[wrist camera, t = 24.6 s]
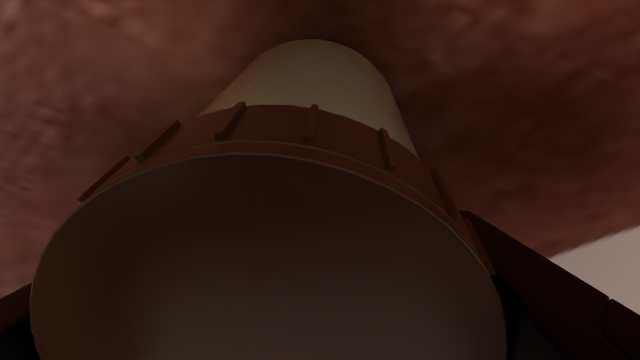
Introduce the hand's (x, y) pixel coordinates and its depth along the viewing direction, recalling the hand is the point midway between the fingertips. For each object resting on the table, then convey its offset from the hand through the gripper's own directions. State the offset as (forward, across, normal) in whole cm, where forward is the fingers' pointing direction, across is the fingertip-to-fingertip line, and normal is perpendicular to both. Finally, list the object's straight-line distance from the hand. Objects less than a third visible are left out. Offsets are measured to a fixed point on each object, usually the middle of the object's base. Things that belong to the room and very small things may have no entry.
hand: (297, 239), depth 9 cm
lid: (-3, 0, 0) cm, 3 cm away
